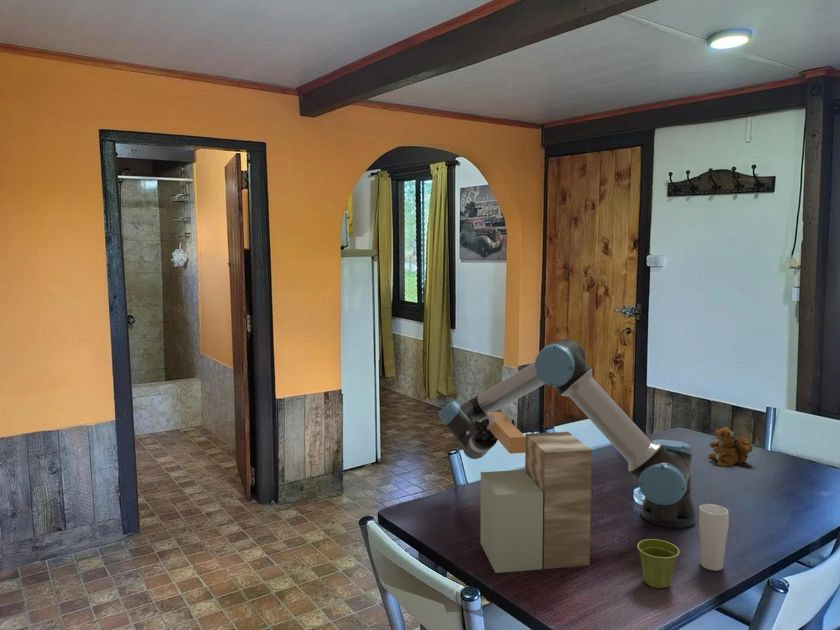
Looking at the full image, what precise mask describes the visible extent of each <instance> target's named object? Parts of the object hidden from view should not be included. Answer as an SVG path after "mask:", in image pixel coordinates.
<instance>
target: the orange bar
mask: <svg viewBox="0 0 840 630" xmlns="http://www.w3.org/2000/svg"><path fill="white" fill-rule="evenodd" d="M490 414H494V420H495V424H494V425H493V426H492V427H491V428H490V429H489V430H490V431H491V432H492V434H493V435H494V436H495V437H496V438H497V439H498V440H497V441H498V442H499V443H500V444H501V445H502V446H503V448H504V449H505V450H506V451H507V452H508V453H509V454H525V453H526V437H525V436H526V435H524V433H522V432H521V431H520V429H518V427H516V425H515V426H514V425H513V424H512V423H511V422H510V421H509V420H508V419H507V418H506V417H505V416H506V415H504V414H503V413H502V412H500V411H495V412H488V413H486V417H485V419H487V418H488V417H489V415H490Z"/></svg>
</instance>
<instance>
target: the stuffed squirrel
mask: <svg viewBox="0 0 840 630" xmlns="http://www.w3.org/2000/svg"><path fill="white" fill-rule="evenodd" d="M734 434H735V432H734V431H732V430H731V429H729V427H728V426H725V427H721V428H720V429H718V430H716V431H715V432H714V434H713V437H712V438H713V439H714V438H715V439H716V440H717V441H711V442H710V443H709V447H710V448H712V450H713V452H714V453H712V452H711V453H709V454H708V458H710V459H713V460H716V461H717V465H718V466H719V467H720V466H721V467H732V466H734V465H735V464H738V465H740V464H742V463H745V462H746V461H747V459H748V457H749V453H751V452H753V449H754V448H753V447H754V444H753V443H752V442H751V441H750V440H748V439H747V438H745V437H743V436H742V437H736V438H734V439H733V437H734Z"/></svg>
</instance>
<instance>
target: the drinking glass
mask: <svg viewBox="0 0 840 630" xmlns="http://www.w3.org/2000/svg"><path fill="white" fill-rule="evenodd" d="M729 513H730V512H729V510H728V508H726V507H724V506H722V505H718V504H713V503H704V504H701V505H700V506H699V507H698V537H699V564H700V565H701V567H703V568H704V569H706V570H707V571H712V570H713V571H715V572H717V571H722V569H723V568H724V562H725V554H726V553H725V552H726V546H727V538H728V532H729V524H730V523H729V520H730V519H729V517H730V515H729Z"/></svg>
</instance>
